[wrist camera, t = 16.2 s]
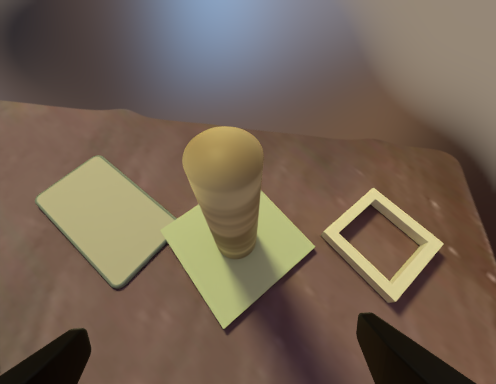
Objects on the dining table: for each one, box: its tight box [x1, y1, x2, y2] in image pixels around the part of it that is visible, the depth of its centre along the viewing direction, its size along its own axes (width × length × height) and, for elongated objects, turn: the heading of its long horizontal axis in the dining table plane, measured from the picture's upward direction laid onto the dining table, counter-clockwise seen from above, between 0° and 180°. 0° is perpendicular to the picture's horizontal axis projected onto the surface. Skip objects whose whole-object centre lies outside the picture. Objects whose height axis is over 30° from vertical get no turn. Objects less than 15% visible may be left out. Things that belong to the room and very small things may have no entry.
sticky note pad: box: [35, 155, 177, 289], centre depth 25 cm, size 8×1×15 cm
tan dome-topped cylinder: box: [183, 127, 264, 259], centre depth 17 cm, size 4×4×13 cm
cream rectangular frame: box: [321, 188, 444, 303], centre depth 23 cm, size 8×8×1 cm
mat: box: [160, 191, 315, 329], centre depth 23 cm, size 11×11×1 cm
